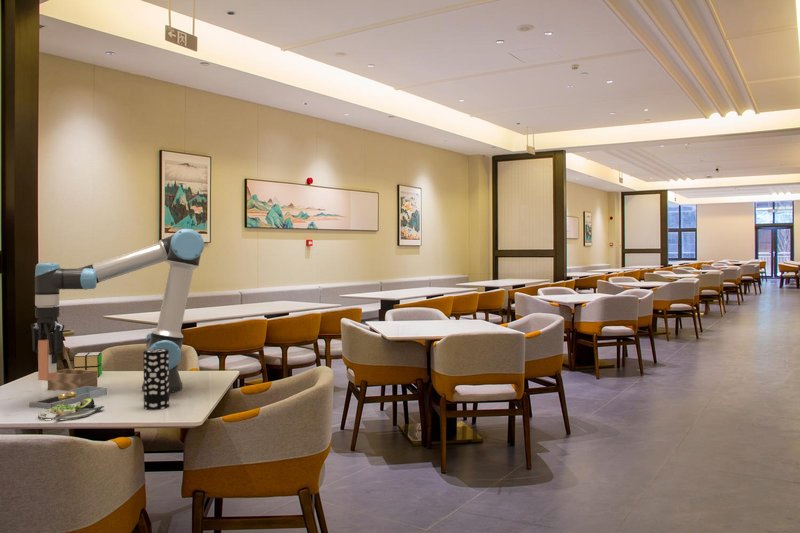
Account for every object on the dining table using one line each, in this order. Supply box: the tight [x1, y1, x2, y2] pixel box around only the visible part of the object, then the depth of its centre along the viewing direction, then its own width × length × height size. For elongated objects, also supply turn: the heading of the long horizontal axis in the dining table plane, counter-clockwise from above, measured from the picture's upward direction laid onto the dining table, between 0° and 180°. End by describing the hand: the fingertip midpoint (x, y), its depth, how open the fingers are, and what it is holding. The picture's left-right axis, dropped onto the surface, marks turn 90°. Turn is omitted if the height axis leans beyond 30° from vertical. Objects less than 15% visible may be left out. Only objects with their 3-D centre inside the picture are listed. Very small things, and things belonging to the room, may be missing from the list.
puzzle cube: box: [72, 351, 103, 378], centre depth 281 cm, size 10×10×10 cm
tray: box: [69, 386, 108, 399], centre depth 239 cm, size 10×8×3 cm
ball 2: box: [67, 391, 77, 399], centre depth 232 cm, size 3×3×3 cm
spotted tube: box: [143, 349, 170, 411], centre depth 221 cm, size 8×8×20 cm
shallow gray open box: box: [28, 392, 90, 410], centre depth 227 cm, size 10×17×2 cm, turn 160°
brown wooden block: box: [47, 368, 98, 392], centre depth 253 cm, size 16×9×7 cm, turn 70°
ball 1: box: [58, 392, 68, 401], centre depth 228 cm, size 3×3×3 cm
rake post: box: [37, 338, 57, 382], centre depth 222 cm, size 4×4×14 cm
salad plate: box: [37, 398, 105, 420], centre depth 211 cm, size 19×18×5 cm
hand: (47, 372), depth 222 cm, fingers closed on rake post, 4 cm apart
